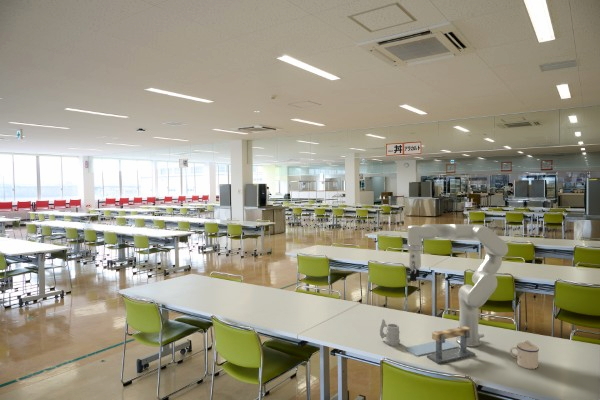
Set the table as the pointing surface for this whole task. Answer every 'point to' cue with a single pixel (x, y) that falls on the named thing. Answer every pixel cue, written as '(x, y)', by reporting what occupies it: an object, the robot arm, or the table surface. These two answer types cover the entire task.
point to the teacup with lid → (526, 355)
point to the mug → (390, 333)
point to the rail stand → (451, 354)
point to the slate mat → (429, 348)
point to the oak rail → (450, 333)
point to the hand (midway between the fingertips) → (414, 278)
